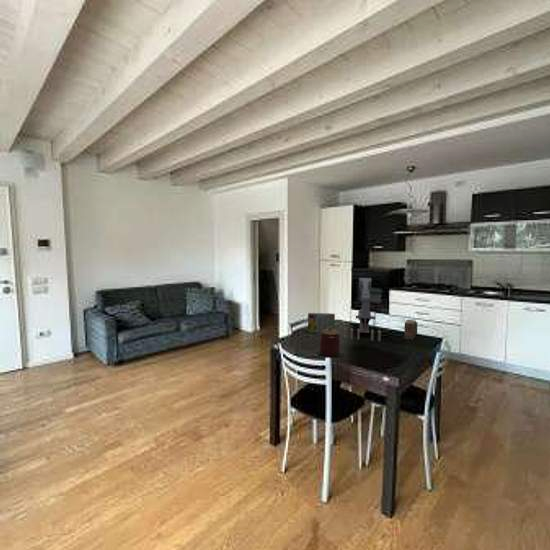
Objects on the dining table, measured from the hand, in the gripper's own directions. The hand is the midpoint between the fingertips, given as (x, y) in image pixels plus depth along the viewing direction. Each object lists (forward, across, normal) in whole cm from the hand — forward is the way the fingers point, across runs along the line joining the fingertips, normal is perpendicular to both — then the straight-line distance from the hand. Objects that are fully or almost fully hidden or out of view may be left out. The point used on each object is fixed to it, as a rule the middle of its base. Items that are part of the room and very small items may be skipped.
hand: (365, 328), depth 257 cm
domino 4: (+6, +5, -8) cm, 12 cm away
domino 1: (+6, -15, -8) cm, 18 cm away
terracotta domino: (+2, 0, 0) cm, 2 cm away
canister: (+6, -24, -47) cm, 53 cm away
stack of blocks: (+7, +35, +10) cm, 37 cm away
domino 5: (+6, +10, -8) cm, 14 cm away
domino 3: (+6, -5, -8) cm, 12 cm away
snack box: (+7, -34, +5) cm, 35 cm away
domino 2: (+6, -10, -8) cm, 14 cm away
